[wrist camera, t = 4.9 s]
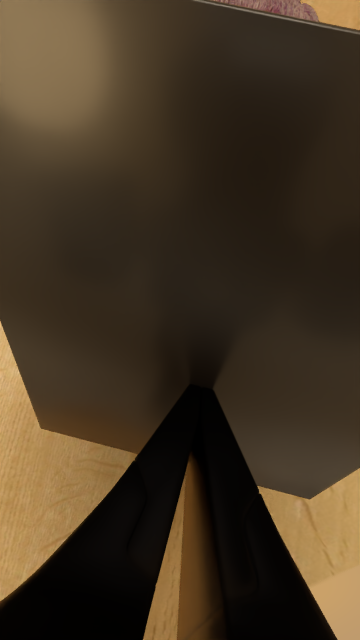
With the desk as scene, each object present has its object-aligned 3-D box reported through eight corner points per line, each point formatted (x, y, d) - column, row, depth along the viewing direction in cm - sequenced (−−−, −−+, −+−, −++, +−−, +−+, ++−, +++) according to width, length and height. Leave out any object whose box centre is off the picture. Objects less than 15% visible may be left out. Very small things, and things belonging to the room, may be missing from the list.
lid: (-94, -47, 4) (-151, -76, 4) (780, 134, 4) (890, 137, 3) (49, 414, 13) (40, 428, 13) (306, 481, 13) (309, 500, 12)
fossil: (192, 22, 31) (196, -49, 26) (304, 24, 32) (329, -44, 27) (195, 69, 29) (201, 2, 24) (316, 71, 30) (345, 6, 25)
